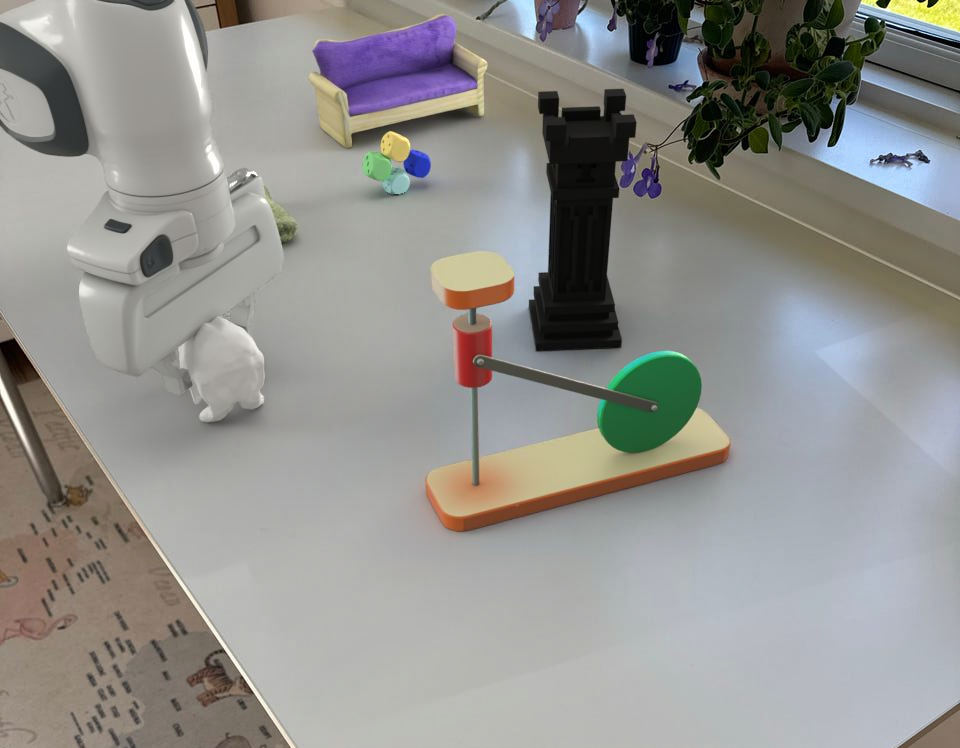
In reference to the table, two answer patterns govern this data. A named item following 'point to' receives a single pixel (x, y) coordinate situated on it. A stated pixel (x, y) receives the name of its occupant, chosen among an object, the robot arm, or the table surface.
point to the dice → (398, 151)
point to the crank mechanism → (574, 458)
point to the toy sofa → (395, 78)
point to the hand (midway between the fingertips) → (210, 366)
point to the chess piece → (580, 223)
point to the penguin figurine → (223, 368)
